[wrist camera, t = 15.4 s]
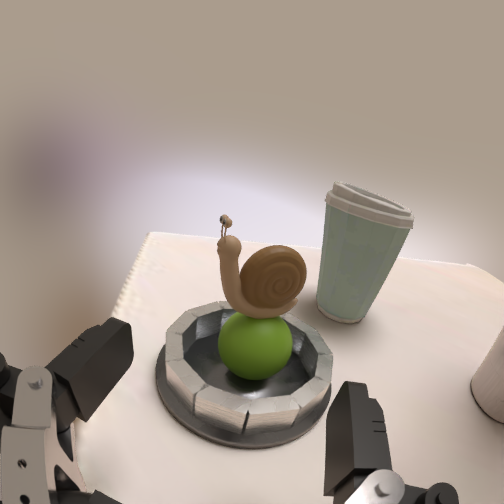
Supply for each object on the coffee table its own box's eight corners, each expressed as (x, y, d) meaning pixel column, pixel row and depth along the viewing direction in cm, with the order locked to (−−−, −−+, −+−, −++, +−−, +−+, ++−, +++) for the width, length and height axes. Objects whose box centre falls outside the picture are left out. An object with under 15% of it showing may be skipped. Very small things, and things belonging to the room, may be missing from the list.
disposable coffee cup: (376, 302, 37) (408, 199, 32) (381, 345, 27) (431, 213, 22) (306, 282, 40) (331, 178, 34) (291, 321, 30) (325, 182, 25)
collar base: (249, 311, 30) (254, 284, 29) (357, 384, 21) (371, 356, 20) (127, 351, 21) (124, 320, 20) (237, 485, 12) (245, 465, 11)
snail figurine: (196, 350, 22) (211, 204, 18) (267, 344, 24) (299, 212, 20) (211, 401, 17) (235, 232, 13) (294, 387, 20) (344, 238, 15)
